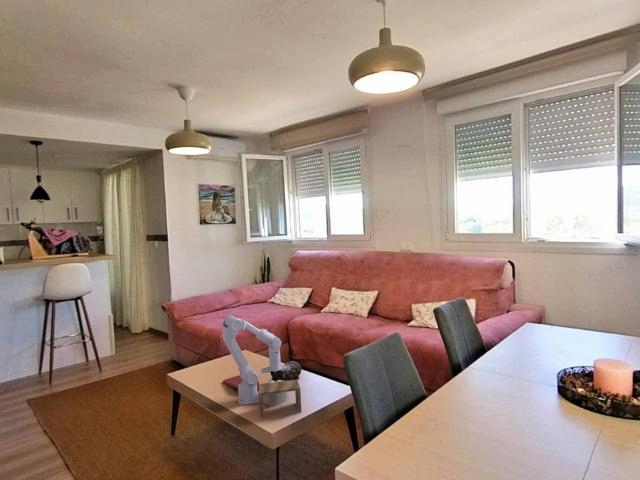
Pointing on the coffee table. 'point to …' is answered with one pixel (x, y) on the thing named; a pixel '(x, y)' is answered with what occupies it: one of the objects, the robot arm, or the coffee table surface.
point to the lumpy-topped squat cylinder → (275, 397)
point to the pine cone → (290, 371)
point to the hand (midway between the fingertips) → (276, 385)
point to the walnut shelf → (278, 388)
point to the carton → (236, 382)
